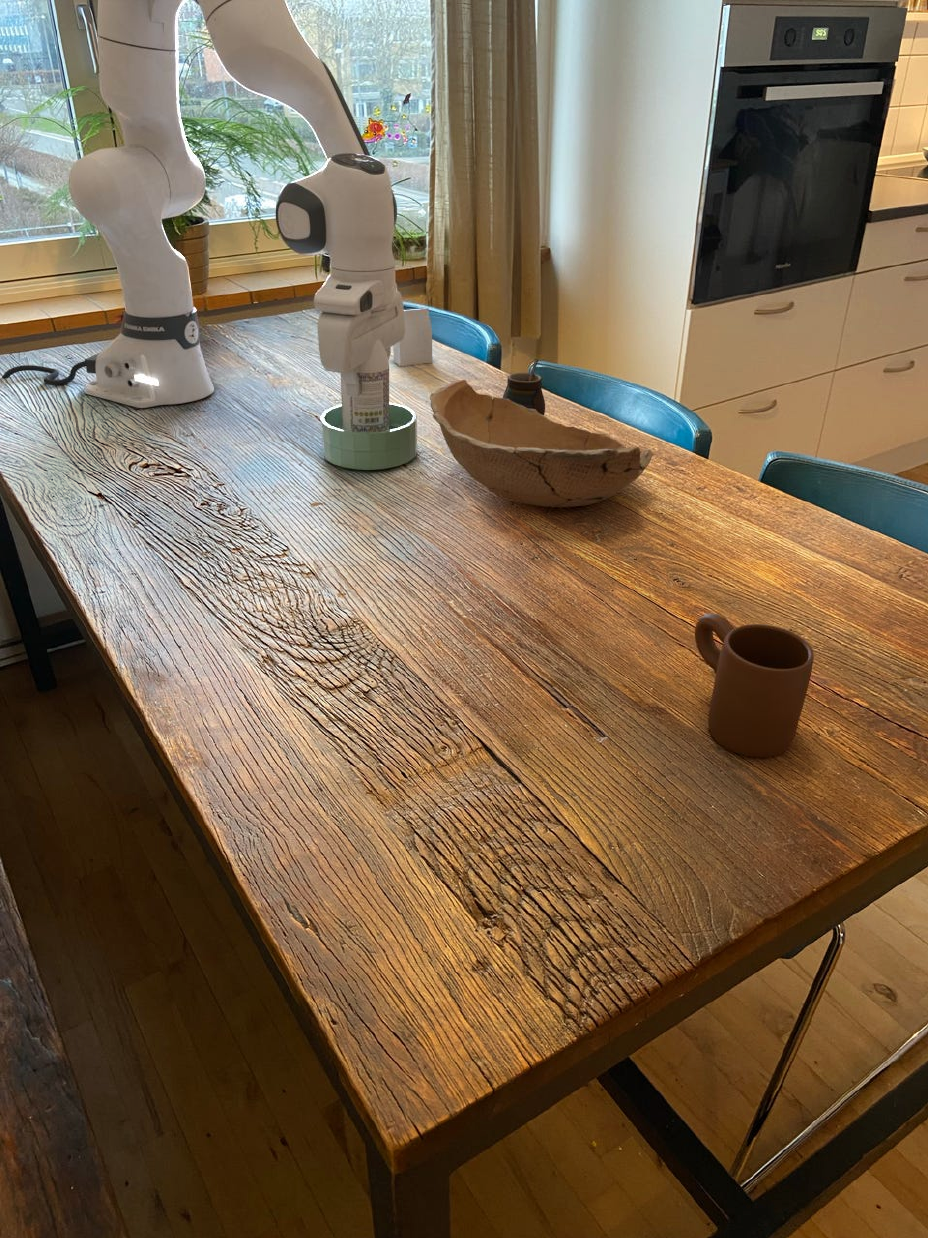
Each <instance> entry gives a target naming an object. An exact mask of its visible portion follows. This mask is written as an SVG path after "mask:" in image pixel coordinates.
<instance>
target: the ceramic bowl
mask: <svg viewBox="0 0 928 1238" xmlns="http://www.w3.org/2000/svg"><path fill="white" fill-rule="evenodd" d="M429 400H430V408H431V410H432V412H433V414H432V417H433V419H434V420H435V421H436V423H437V424H439V427H440V431H441V434H442V436H443V439H444V441H445V443H446V446H447V447H448V449H449V451H450V452H451V455H452V457H453V458H454V459H455V461H456V462H457V463H458V465H460V466H461V467H462V468H463V469H464V471H465V472H466V473H467V474H469V476H470V477H471V478H473V480H475V481H476V482H478V483H479V484H480V485H482V486H483V487H485V488H486V489H488V490H489V492H492V493H493V494H496V495H497V496H500V497H502V498H504V499H506V500H508V501H509V502H517V503H521V504H526V505H531V506H539V507H545V508H546V507H549V508H571V507H572V508H573V507H580V506H581V507H583V506H587V505H592V504H596V503H600V502H603V501H605V500H607V499H610V498H611V497H613V496H614V495H616V494H619V493H620V492H621V491H623V490H625V489H626V488H627V487H629V486H630V485H631V484H632V483H634V482H635V481H636V480H637V479H638V478H639V477H640V476H641V474H643V472H644V471H645V469H646V468H647V467H649V464H650V463H651V461H652V457H653V456H654V455H655V454H654V452H653V451H652V449H647V448H645V449H643V450H641V448H640V447H639V446H636V445H634V446H625V445H624V444H623V443H621V442H619V441H617V440H616V439H614V438H612V437H610V436H609V435H607V434H605V433H598V432H591V431H589V430H587V429H581V428H578V427H575V426H566V425H564V424H562V423H559V422H555V421H553V420H552V419H550V418H549V417H547V416H546V415H544V416H543V415H541V414H540V413H538V412H537V411H536V410H535V409H528V408H526V407H524V406H522V405H519V404H517V403H514V402H512V401H511V400H509V399H505V398H503V397H498V396H492V395H489V394H482V393H481V394H480V393H479V392H477V391H475V389H474V388H473V387H472V386H471V385H469V384H468V382H467V380H466V379H458V380H453V381H450V383H446V384H444V385H443V386H441V387H437V388H436V389H435V390H434V392H432V393H431V394H430V396H429Z"/></svg>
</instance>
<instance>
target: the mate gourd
mask: <svg viewBox="0 0 928 1238" xmlns="http://www.w3.org/2000/svg"><path fill="white" fill-rule="evenodd" d="M539 360H540V359H537V358H534V362H533V364H532V367H531V370H530V372H514V373H513V372H512V373H511V374H509V375H507V379H506V380H507V381H506V384H507V385H506V388H505V390H504V392H503V395H502V398H505V399H509V400H511V401H512V402H514V403H517V404H519V405H522V406H524V407H526V408H528V409H535V410H536V411H537V412H538V413H540V414H541V415H543V416H545V413H546V401H545V396H544V393H543V389H542V386H543V383H542V380H543V378H542V376H540V375H539V374H536V373H535V371H536V368H537V365H538V363H539Z"/></svg>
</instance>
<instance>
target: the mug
mask: <svg viewBox="0 0 928 1238" xmlns="http://www.w3.org/2000/svg"><path fill="white" fill-rule="evenodd" d="M714 634H715V635H716V636H717V638H718V639H719V641H721V643H722V646H721V649H719V648H718V646H717V645H716V642H715V639H714ZM694 639H695V645H696V648H697V651H698V653H699V655H700V656H701V658H702V660H704V662H705V663H706V664H707V665H709V666H710V668H711V669H712V670H713V672H714V674H715V677H714V682H713V689H712V693H711V699H710V705H709V709H708V715H707V716H708V717H707V724H708V725H707V726H708V730H709V733H710V735H711V736H712V737H713V738H714V740H715V741H716V742H717V743H718V744H719V745H721V747H723V748H725V749H727V750H728V751H731V752H733V753H735V754H737V755H741V756H745V757H748V758H749V757H750V758H758V759H759V758H763V759H764V758H772V757H776V756H779V755H781V754H783V753H784V752H786V751H787V750H788V749H789V748H790V747H791V745H792V744H793V742H794V740H795V736H796V733H797V729H798V726H799V722H800V718H801V715H802V712H803V709H804V705H805V700H806V696H807V693H808V688H809V685H810V681H811V677H812V671H813V664H814V659H815V655H814V650H813V648H812V646H811V645H810V643H809V642H808V641H807V640H806V639H804V638H803V637H802V636H800V635H799V634H797V633H795V632H792V631H791V630H789V629H786V628H783V627H779V626H775V625H769V624H764V623H763V624H762V623H754V624H753V623H751V624H744V625H740V626H737V627H734V626H733V624H732V623H731V622H730V620H729V619H727V618H726V617H725V616H722V615H721V614H719V613H713V612H708V613H705V614H703V615H701V616H700V618H699V619H698V620H697V622H696V625H695V628H694Z"/></svg>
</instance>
